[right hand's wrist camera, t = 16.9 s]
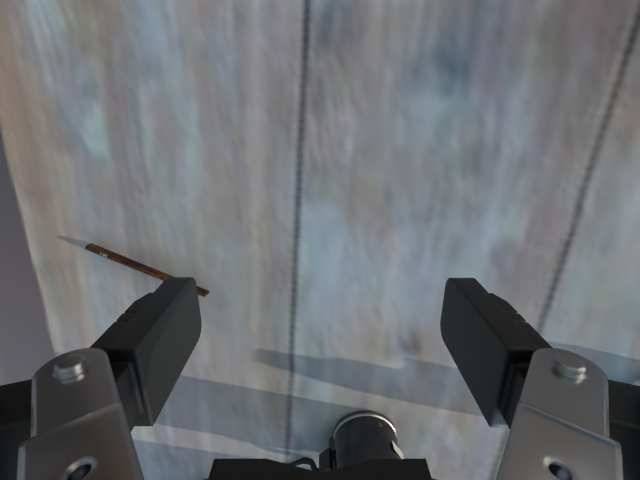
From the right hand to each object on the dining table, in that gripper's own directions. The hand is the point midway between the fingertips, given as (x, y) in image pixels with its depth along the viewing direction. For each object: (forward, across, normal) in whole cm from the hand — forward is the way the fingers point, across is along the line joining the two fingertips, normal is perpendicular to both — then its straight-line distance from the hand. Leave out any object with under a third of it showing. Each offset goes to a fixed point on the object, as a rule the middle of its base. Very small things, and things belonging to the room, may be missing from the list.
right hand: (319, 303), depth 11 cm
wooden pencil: (+30, +21, +12) cm, 38 cm away
